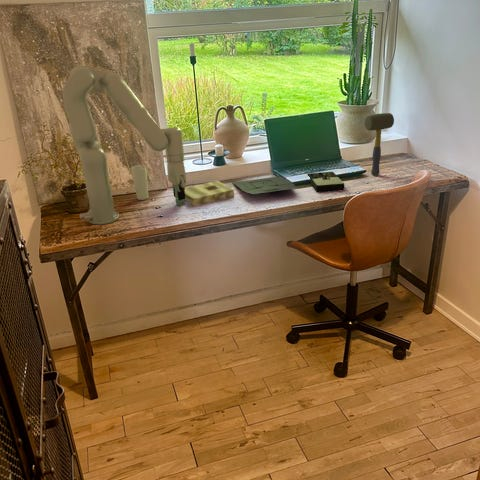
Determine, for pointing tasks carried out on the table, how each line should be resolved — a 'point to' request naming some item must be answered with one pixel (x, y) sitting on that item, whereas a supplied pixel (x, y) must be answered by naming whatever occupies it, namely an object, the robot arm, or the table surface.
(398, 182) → the table surface
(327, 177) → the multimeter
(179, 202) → the dowel
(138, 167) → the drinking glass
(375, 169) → the rubber mallet
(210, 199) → the olive green slab
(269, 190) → the dark green panel
